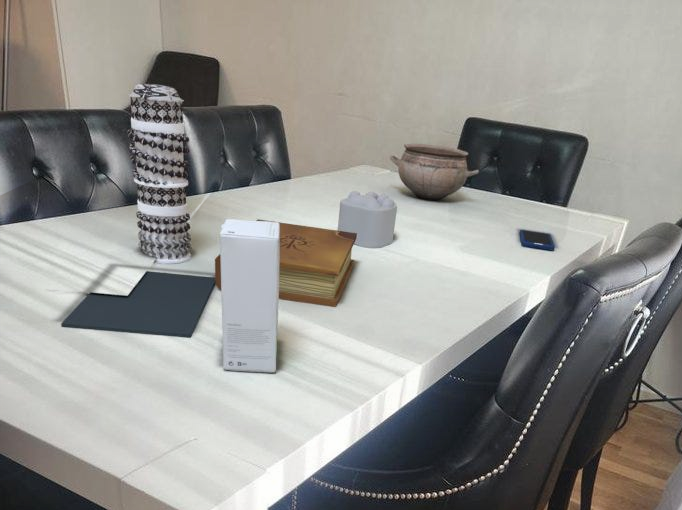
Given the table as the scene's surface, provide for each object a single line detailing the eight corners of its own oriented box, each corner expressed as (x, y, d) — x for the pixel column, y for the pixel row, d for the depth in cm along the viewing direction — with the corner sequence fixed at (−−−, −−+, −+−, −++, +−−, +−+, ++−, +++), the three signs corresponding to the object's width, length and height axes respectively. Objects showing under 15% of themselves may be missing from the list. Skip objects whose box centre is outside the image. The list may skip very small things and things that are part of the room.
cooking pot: (376, 194, 176) (381, 144, 169) (395, 185, 191) (401, 139, 184) (466, 211, 170) (475, 160, 164) (478, 200, 186) (487, 153, 179)
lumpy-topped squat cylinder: (330, 238, 132) (334, 193, 127) (359, 228, 142) (363, 186, 137) (376, 250, 128) (382, 203, 124) (402, 238, 138) (408, 195, 134)
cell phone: (521, 245, 144) (522, 242, 144) (519, 232, 155) (519, 228, 155) (554, 250, 143) (555, 247, 143) (549, 236, 155) (550, 233, 154)
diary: (252, 251, 118) (253, 218, 115) (353, 266, 117) (357, 233, 114) (215, 289, 99) (214, 251, 96) (335, 307, 98) (339, 269, 95)
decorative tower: (142, 265, 105) (127, 86, 91) (133, 248, 112) (119, 79, 98) (198, 264, 109) (193, 91, 95) (187, 248, 115) (180, 85, 101)
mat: (61, 326, 82) (61, 323, 81) (113, 270, 101) (113, 267, 101) (190, 337, 83) (190, 334, 83) (216, 280, 103) (216, 277, 103)
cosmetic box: (275, 374, 77) (280, 239, 68) (218, 371, 76) (216, 233, 67) (277, 346, 84) (282, 220, 75) (225, 343, 83) (224, 215, 74)
